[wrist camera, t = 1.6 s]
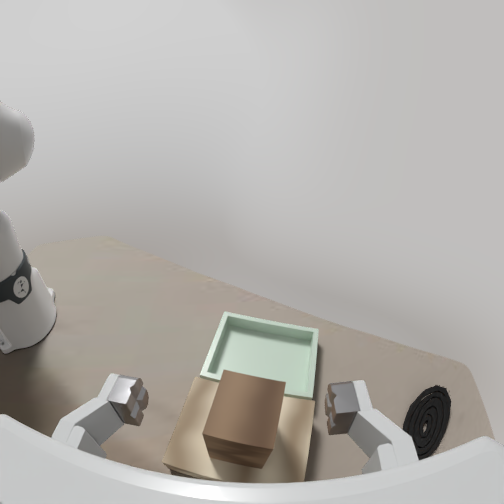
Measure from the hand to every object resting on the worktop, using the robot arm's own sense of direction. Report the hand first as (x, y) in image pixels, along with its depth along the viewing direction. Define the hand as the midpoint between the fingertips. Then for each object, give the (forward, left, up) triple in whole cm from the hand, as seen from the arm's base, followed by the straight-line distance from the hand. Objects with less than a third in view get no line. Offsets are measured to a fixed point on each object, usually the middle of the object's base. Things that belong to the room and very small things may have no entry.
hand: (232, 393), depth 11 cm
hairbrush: (+26, +6, -28) cm, 39 cm away
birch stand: (0, +5, -28) cm, 28 cm away
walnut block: (0, +5, -23) cm, 23 cm away
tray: (0, +20, -28) cm, 34 cm away
